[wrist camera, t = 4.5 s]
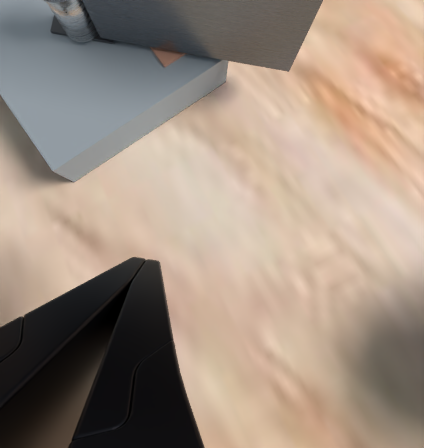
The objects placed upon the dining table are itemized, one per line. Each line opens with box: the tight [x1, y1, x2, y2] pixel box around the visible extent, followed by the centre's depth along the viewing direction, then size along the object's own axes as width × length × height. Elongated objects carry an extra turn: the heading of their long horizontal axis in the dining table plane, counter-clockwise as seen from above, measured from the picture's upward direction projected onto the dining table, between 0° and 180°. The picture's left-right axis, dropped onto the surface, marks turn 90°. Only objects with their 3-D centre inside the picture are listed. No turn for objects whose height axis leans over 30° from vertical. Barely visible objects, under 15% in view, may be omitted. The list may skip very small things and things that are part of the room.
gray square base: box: [0, 0, 228, 182], centre depth 17 cm, size 12×12×3 cm
